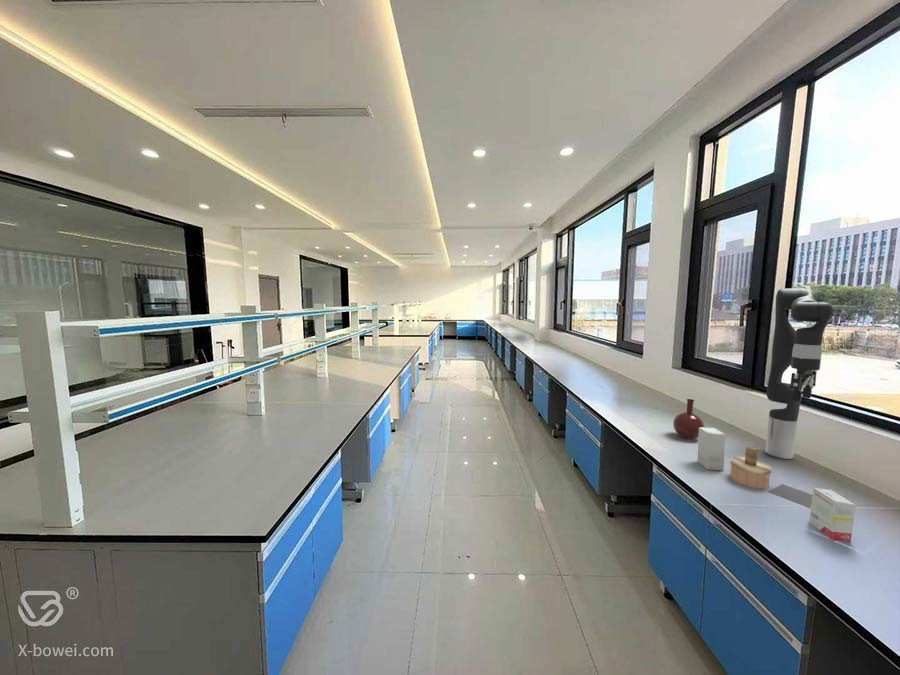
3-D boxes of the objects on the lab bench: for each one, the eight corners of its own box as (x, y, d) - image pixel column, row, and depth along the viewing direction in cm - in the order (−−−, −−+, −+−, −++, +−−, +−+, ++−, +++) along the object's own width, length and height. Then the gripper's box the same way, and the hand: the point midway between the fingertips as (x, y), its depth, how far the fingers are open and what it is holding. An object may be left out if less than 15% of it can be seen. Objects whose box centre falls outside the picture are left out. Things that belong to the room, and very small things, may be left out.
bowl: (739, 472, 141) (740, 458, 141) (773, 484, 132) (775, 469, 131) (724, 478, 136) (726, 463, 136) (759, 491, 127) (761, 476, 126)
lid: (739, 457, 141) (741, 440, 141) (777, 470, 131) (779, 451, 130) (723, 463, 136) (725, 445, 135) (762, 477, 125) (763, 458, 125)
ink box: (852, 543, 100) (857, 504, 98) (831, 540, 101) (836, 502, 99) (826, 524, 108) (831, 488, 107) (807, 522, 109) (812, 486, 108)
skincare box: (723, 471, 142) (727, 434, 140) (705, 469, 143) (708, 433, 142) (712, 462, 150) (715, 427, 148) (695, 460, 151) (698, 426, 150)
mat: (782, 484, 132) (782, 484, 131) (827, 501, 121) (827, 500, 121) (767, 492, 126) (767, 491, 126) (812, 510, 115) (812, 509, 115)
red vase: (702, 436, 179) (705, 398, 177) (704, 445, 168) (707, 405, 166) (672, 431, 186) (674, 395, 184) (672, 439, 175) (675, 400, 173)
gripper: (801, 353, 134) (796, 394, 136) (784, 356, 128) (779, 399, 130) (828, 356, 128) (823, 399, 129) (812, 359, 121) (806, 404, 123)
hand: (801, 399), depth 129 cm, fingers open, 8 cm apart
